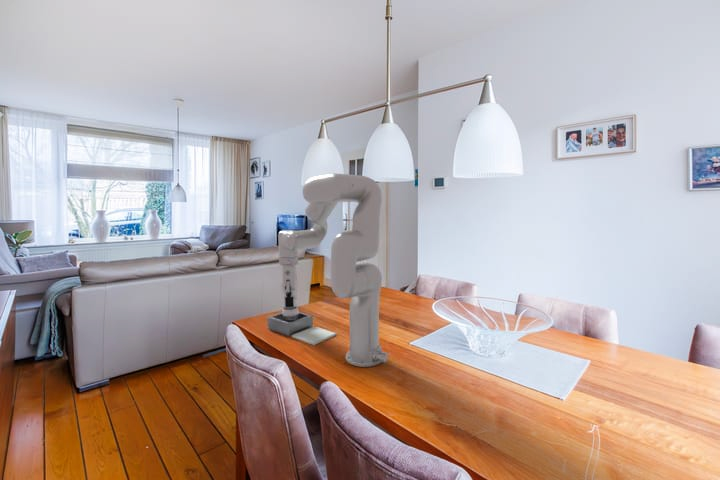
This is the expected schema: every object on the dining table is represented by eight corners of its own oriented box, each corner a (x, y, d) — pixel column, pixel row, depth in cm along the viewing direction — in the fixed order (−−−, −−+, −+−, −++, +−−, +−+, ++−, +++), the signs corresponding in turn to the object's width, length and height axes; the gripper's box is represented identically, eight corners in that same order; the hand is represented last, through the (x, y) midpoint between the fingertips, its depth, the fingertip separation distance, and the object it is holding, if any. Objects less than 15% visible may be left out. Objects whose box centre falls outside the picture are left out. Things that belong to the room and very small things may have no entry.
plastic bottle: (298, 321, 134) (297, 272, 132) (281, 322, 133) (279, 273, 131) (299, 316, 141) (297, 269, 139) (283, 317, 140) (281, 270, 138)
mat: (336, 335, 130) (336, 333, 130) (313, 345, 120) (313, 343, 120) (314, 328, 137) (314, 326, 137) (291, 337, 128) (291, 335, 128)
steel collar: (312, 327, 138) (312, 315, 138) (289, 336, 129) (288, 324, 128) (291, 320, 146) (291, 309, 146) (268, 328, 137) (267, 317, 136)
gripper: (296, 264, 127) (298, 310, 128) (299, 257, 143) (300, 298, 145) (276, 264, 126) (278, 311, 127) (281, 258, 143) (283, 299, 144)
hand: (290, 304), depth 136 cm, fingers closed on plastic bottle, 5 cm apart
